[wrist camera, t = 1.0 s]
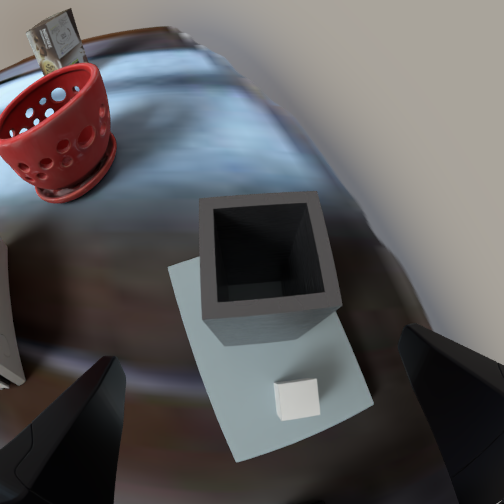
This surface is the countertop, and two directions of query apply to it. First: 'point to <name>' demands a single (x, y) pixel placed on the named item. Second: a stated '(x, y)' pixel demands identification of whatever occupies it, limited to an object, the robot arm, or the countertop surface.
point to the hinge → (7, 330)
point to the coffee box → (57, 42)
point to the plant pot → (60, 134)
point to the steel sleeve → (265, 266)
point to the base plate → (271, 373)
